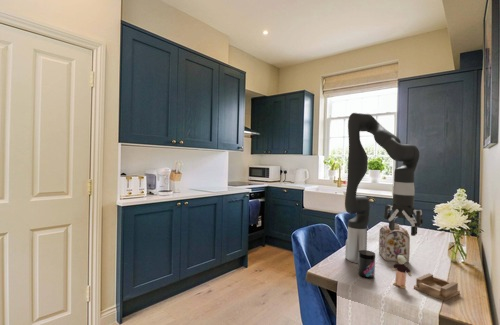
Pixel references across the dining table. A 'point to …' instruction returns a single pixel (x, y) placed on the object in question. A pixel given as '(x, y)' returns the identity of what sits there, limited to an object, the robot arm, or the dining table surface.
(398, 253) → the decorative jar
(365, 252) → the supplement container
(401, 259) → the grandmother figurine
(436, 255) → the dining table surface
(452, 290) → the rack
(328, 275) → the dining table surface
